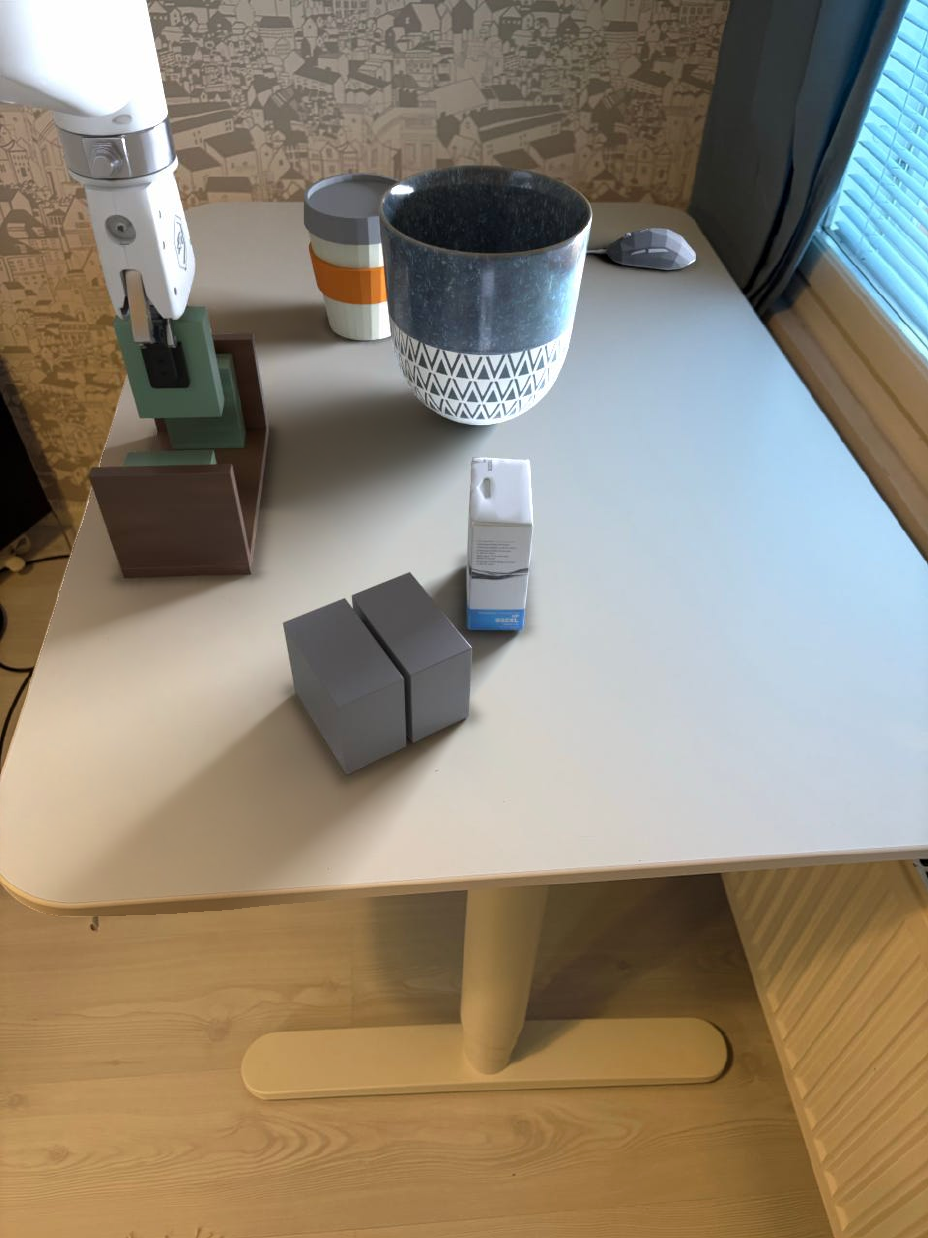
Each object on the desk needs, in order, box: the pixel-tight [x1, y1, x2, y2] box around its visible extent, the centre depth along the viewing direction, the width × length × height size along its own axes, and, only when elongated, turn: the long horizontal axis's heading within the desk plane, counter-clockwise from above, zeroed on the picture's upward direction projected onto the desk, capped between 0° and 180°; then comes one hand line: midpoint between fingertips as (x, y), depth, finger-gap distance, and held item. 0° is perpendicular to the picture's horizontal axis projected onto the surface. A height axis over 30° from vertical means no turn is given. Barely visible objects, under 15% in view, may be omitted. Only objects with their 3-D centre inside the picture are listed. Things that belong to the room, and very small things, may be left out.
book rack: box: [87, 332, 270, 579], centre depth 83 cm, size 21×11×11 cm, turn 4°
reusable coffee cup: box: [303, 172, 401, 341], centre depth 105 cm, size 13×13×15 cm
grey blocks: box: [282, 571, 473, 776], centre depth 68 cm, size 10×9×8 cm
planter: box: [378, 164, 593, 426], centre depth 91 cm, size 20×20×21 cm
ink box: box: [466, 456, 534, 631], centre depth 75 cm, size 8×5×12 cm, turn 179°
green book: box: [112, 305, 225, 419], centre depth 76 cm, size 3×7×9 cm, turn 94°
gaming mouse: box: [586, 227, 697, 271], centre depth 122 cm, size 6×15×4 cm, turn 81°
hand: (173, 373), depth 77 cm, fingers closed on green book, 2 cm apart
